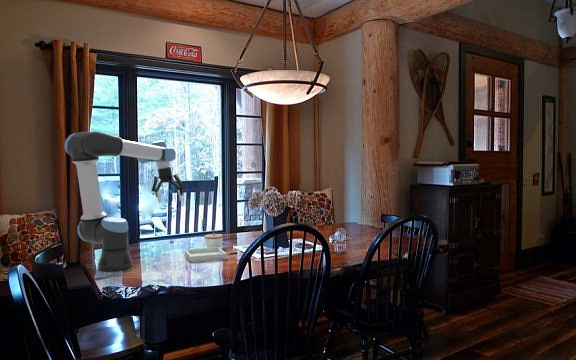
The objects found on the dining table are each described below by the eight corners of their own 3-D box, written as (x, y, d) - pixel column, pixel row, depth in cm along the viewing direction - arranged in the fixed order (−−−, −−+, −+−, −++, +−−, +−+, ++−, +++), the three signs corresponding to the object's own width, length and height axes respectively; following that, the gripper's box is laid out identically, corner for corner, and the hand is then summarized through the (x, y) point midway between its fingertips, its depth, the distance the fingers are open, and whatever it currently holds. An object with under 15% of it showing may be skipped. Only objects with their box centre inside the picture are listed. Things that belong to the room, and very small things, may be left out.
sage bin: (190, 262, 206) (190, 256, 206) (184, 254, 223) (184, 249, 223) (226, 259, 213) (226, 253, 213) (218, 252, 230) (218, 246, 230)
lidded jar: (225, 247, 245) (225, 231, 244) (220, 250, 234) (220, 234, 233) (207, 246, 246) (207, 231, 245) (202, 250, 235) (201, 234, 235)
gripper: (186, 163, 241) (192, 197, 247) (147, 167, 245) (154, 200, 251) (181, 166, 234) (188, 201, 240) (141, 170, 238) (148, 204, 244)
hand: (170, 201), depth 245 cm, fingers open, 13 cm apart
